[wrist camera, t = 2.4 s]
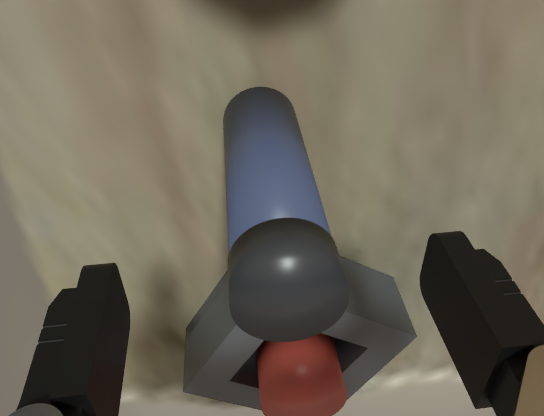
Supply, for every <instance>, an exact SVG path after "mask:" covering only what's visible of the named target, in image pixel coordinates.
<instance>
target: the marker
mask: <svg viewBox="0 0 544 416" xmlns="http://www.w3.org/2000/svg"><path fill="white" fill-rule="evenodd" d="M223 125H224V148H225V171H226V194H227V217H228V240H229V256H228V284H229V308H230V314H231V316H232V319H233V320H234V322H235V323H236V325H237V326H238V327H239V328H240V329H241V330H243V331H244V332H246V333H247V334H249V335H251V336H253V337H256V338H258V339H262V340H266V341H273V342H291V341H298V340H303V339H306V338H310V337H312V336H315V335H317V334H319V333H322V332H323V331H325V330H327V329H328V328H330V327H331V326H332V325H334V324H335V323H336V322H337V321H338V320H339V319H340V318H341V317H342V315H343V314H344V312H345V311H346V309H347V306H348V303H349V298H350V293H349V287H348V284H347V281H346V277H345V274H344V271H343V267H342V264H341V261H340V257H339V254H338V251H337V247H336V244H335V242H334V240H333V238H332V236H331V233H330V230H329V226H328V223H327V220H326V216H325V213H324V209H323V206H322V203H321V199H320V196H319V192H318V189H317V186H316V182H315V179H314V175H313V172H312V169H311V165H310V162H309V158H308V155H307V152H306V148H305V145H304V141H303V138H302V135H301V131H300V128H299V124H298V121H297V118H296V114H295V111H294V108H293V106H292V104H291V102H290V101H289V99H288V98H287V97H286V96H285V95H283V94H282V93H281V92H279V91H277V90H275V89H271V88H267V87H254V88H250V89H247V90H244V91H242V92H240V93H239V94H237V95H236V96H235V97H234V98H233V99H232V100H231V101H230V102H229V104H228V105H227V107H226V110H225V113H224V118H223Z"/></svg>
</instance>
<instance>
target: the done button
mask: <svg viewBox="0 0 544 416" xmlns="http://www.w3.org/2000/svg"><path fill="white" fill-rule="evenodd" d="M256 357H257V368H258V380H259V391H260V403H261V410H262V412H263V414H264V415H265V416H332V415H334V414H335V413H337V412H338V411H339V410H340V409H341V408H342V407H343V406H344V404H345V402H346V399H347V392H346V388H345V384H344V380H343V376H342V371H341V367H340V363H339V359H338V355H337V351H336V346H335V342H334V338H333V337H332V336H329V335H325V334H322V333H319V334H317V335H315V336H312V337H310V338H306V339H303V340H298V341H291V342H273V341H266V340H264V341H263V342H262V343H261V345H260V346H259V347H258V348H257V349H256Z"/></svg>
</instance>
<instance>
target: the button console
mask: <svg viewBox="0 0 544 416" xmlns="http://www.w3.org/2000/svg"><path fill="white" fill-rule="evenodd" d="M339 257H340V261H341V264H342V267H343V271H344V274H345V277H346V281H347V284H348V287H349V293H350V298H349V303H348V306H347V309H346V311H345V312H344V314H343V315H342V317H341V318H340V319H339V320H338V321H337V322H336V323H335V324H334V325H332V326H331V327H330V328H328V329H327V330H325V331H323V332H322V334H325V335H329V336H332V337H333V338H334V342H335V346H336V351H337V355H338V359H339V363H340V367H341V371H342V376H343V380H344V384H345V388H346V392H347V399H349V398H350V397H351V396H352V395H353V394H354V393H355V392H356V391H357V390H358V389H360V388H361V387H362V386H363V385H364V384H365V383H366V382H367V381H368V380H370V379H371V378H372V377H373V376H374V375H375V374H376V373H377V372H378V371H380V370H381V369H382V368H383V367H384V366H385V365H386V364H387V363H388V362H390V361H391V360H392V359H393V358H394V357H395V356H396V355H397V354H398V353H400V352H401V351H402V350H403V349H404V348H405V347H406V346H407V345H408V344H409V343H411V342H412V341H413V340H414V339H415V338H416V337H417V335H416V333H415V330H414V328H413V325H412V323H411V320H410V318H409V315H408V313H407V310H406V308H405V305H404V303H403V300H402V298H401V295H400V293H399V291H398V288H397V286H396V283H395V281H394V278H393V277H391V276H389V275H386V274H384V273H381V272H379V271H376V270H373V269H371V268H368V267H366V266H363V265H361V264H358V263H356V262H353V261H351V260H348V259H346V258H343V257H341V256H339ZM263 341H264V340H262V339H258V338H256V337H253V336H251V335H249V334H247V333H246V332H244V331H243V330H241V329H240V328H239V327H238V326H237V325H236V323H235V322H234V320H233V319H232V316H231V314H230V308H229V284H228V271H227V272H226V273H225V275H224V276H223V278H222V279H221V280H220V282H219V283H218V285H217V286H216V287H215V289H214V290H213V292H212V293H211V294H210V296H209V297H208V298H207V300H206V301H205V303H204V304H203V305H202V307H201V308H200V310H199V311H198V312H197V314H196V315H195V317H194V318H193V319H192V321H191V322H190V324H189V325H188V326H187V328H186V342H185V363H184V384H183V392H185V393H190V394H194V395H198V396H203V397H207V398H211V399H216V400H220V401H224V402H228V403H233V404H237V405H241V406H246V407H250V408H254V409H259V410H261V403H260V391H259V380H258V368H257V357H256V349H257V348H258V347H259V346H260V345H261V343H262V342H263ZM347 399H346V400H347Z"/></svg>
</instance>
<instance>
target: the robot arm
mask: <svg viewBox="0 0 544 416" xmlns="http://www.w3.org/2000/svg"><path fill="white" fill-rule="evenodd" d="M420 288H421V292H422V296H423V298H424V300H425V303H426V305H427V307H428V309H429V311H430V313H431V315H432V318H433V320H434V322H435V324H436V326H437V328H438V330H439V332H440V335H441V337H442V339H443V341H444V343H445V345H446V347H447V349H448V352H449V354H450V356H451V358H452V360H453V362H454V364H455V366H456V369H457V371H458V373H459V375H460V377H461V379H462V381H463V383H464V386H465V388H466V390H467V392H468V394H469V396H470V398H471V400H472V403H473V405H474V407H475V409H479V408H487V407H493V409H494V411H495V413H496V415H497V416H544V325H543V323H542V322H541V320H540V319H539V317H538V316H537V314H536V313H535V311H534V310H533V309H532V307H531V306H530V304H529V303H528V301H527V300H526V298H525V297H524V295H523V294H521V293H520V289H519V288H518V287H517V285H516V284H515V282H514V281H512V278H511V276H510V275H509V273H508V272H507V270H506V269H505V268H504V266H503V265H502V263H501V262H500V261H499V260H497V259H496V258H495V257H494V256H492V255H491V254H490V253H488V252H487V251H486V250H484V249H477V250H475V249H474V248H473V246H472V244H471V243H470V241H469V240H468V238H467V237H466V235H465V234H464V233H463V232H461V231H455V232H445V233H434V234H431V235H430V237H429V239H428V243H427V248H426V252H425V256H424V260H423V265H422V269H421V273H420ZM129 330H130V310H129V304H128V300H127V297H126V294H125V290H124V287H123V284H122V280H121V277H120V274H119V270H118V267H117V265H116V264H115V263H108V264H97V265H87V266H83V268H82V270H81V273H80V277H79V281H78V285H77V288H69V289H62V290H61V292H60V293H59V294H58V295H57V297H56V298H55V299H54V300H53V302H52V303H51V304H50V305H49V307H48V310H47V314H46V317H45V320H44V324H43V329H42V330H41V334H40V337H39V340H38V342H39V344H38V345H37V347H36V350H35V353H34V356H33V360H32V363H31V367H30V370H29V373H28V376H27V380H26V383H25V386H24V389H23V393H22V396H21V400H20V402H19V405H18V407H17V409H16V411H15V412H13V413H12V414H10V415H9V416H118V413H119V406H120V398H121V391H122V383H123V376H124V368H125V360H126V353H127V345H128V338H129Z"/></svg>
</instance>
